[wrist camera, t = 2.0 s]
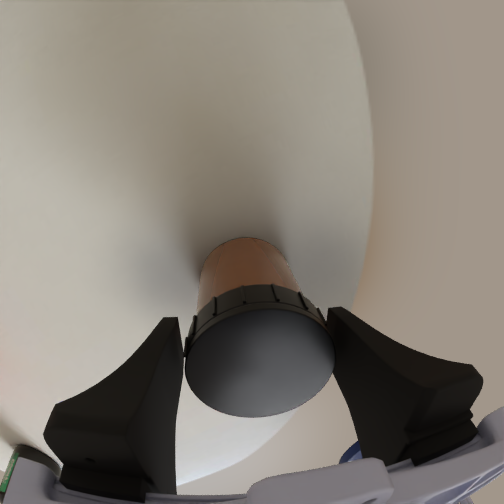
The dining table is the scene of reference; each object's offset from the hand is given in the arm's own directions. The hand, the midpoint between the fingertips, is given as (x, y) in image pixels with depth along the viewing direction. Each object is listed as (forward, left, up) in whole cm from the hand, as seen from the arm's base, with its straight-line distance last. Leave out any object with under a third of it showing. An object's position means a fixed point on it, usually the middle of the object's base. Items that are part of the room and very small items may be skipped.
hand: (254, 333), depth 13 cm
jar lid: (0, 0, +2) cm, 2 cm away
